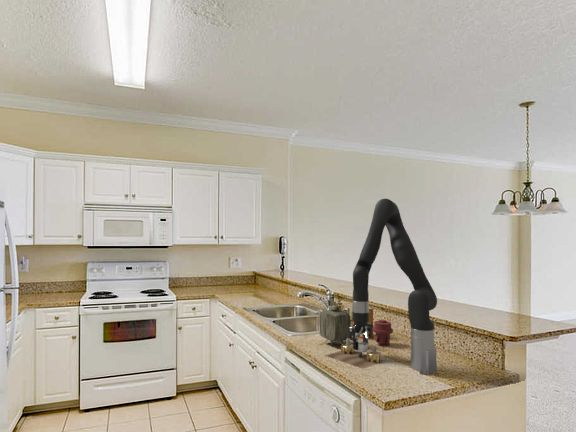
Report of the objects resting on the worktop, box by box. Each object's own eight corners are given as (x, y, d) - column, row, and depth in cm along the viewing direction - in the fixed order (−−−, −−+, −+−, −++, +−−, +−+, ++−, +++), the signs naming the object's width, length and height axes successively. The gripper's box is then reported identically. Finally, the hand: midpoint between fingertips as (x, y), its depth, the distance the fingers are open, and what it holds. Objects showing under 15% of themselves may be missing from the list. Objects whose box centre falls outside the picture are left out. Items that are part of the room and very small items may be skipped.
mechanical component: (396, 345, 198) (385, 349, 191) (380, 341, 205) (368, 344, 199) (396, 320, 198) (385, 323, 192) (380, 317, 206) (368, 320, 199)
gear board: (386, 363, 170) (386, 345, 171) (362, 371, 160) (362, 352, 160) (347, 351, 187) (347, 335, 187) (324, 357, 177) (324, 341, 177)
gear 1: (357, 352, 182) (357, 341, 182) (348, 355, 178) (348, 344, 178) (347, 349, 186) (347, 338, 186) (338, 351, 182) (338, 341, 182)
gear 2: (382, 359, 172) (382, 352, 172) (379, 363, 166) (379, 356, 166) (368, 357, 175) (368, 350, 175) (365, 361, 169) (365, 354, 169)
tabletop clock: (350, 349, 190) (350, 297, 191) (336, 352, 185) (336, 298, 187) (331, 342, 202) (332, 293, 204) (317, 344, 198) (318, 294, 199)
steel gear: (359, 347, 181) (359, 340, 181) (370, 350, 176) (370, 343, 176) (350, 349, 177) (350, 343, 177) (361, 353, 172) (361, 346, 172)
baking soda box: (352, 335, 217) (352, 305, 218) (361, 333, 220) (361, 305, 221) (363, 339, 209) (363, 308, 209) (372, 337, 212) (372, 307, 212)
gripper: (364, 307, 185) (364, 343, 184) (343, 311, 175) (343, 349, 175) (377, 310, 179) (377, 347, 178) (356, 314, 170) (356, 353, 169)
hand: (360, 348), depth 176 cm, fingers closed on steel gear, 6 cm apart
